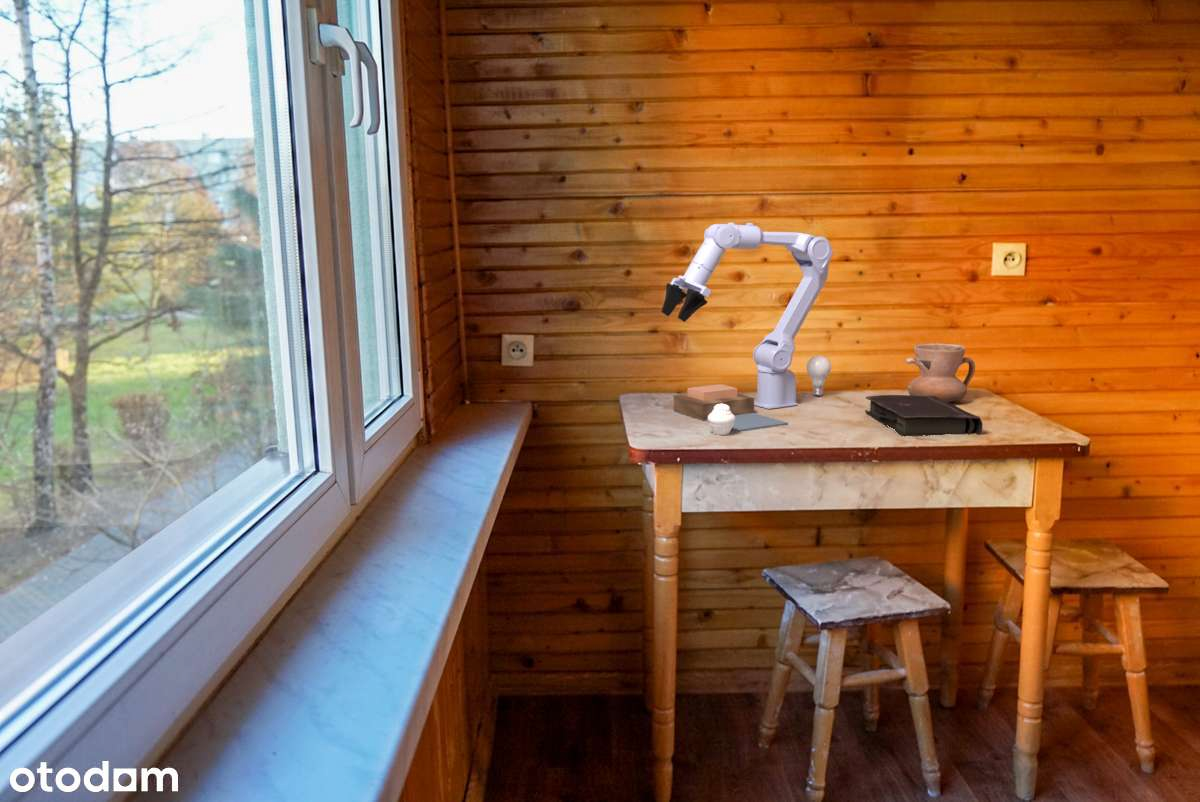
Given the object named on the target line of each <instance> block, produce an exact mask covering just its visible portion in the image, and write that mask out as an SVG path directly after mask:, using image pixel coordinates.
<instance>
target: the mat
mask: <svg viewBox="0 0 1200 802" xmlns="http://www.w3.org/2000/svg"><path fill="white" fill-rule="evenodd" d="M734 416H735V422H734V425H733V427H732V429H733V431H735V430H736V431H735V432H744V431H753V430H760V428H761V429H765V428H766V427H767V428H773V427H772V426H774V427H780V426H779V425H781V426H786V424H788V425H789V422H786V421H783V420H780V419H775V418H773V417H769V416H766V415H762V414H758V413H756V412H754V413H749V414H741V415H734ZM705 421H706V422H708V423H709V421H708V419H706V420H705ZM732 429H731V430H732Z"/></svg>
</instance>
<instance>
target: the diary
mask: <svg viewBox="0 0 1200 802" xmlns="http://www.w3.org/2000/svg"><path fill="white" fill-rule="evenodd" d="M865 399H866V400H868V401H870V405H869V407H870V408H869V410H867V409H866V410H864V411H865V414H866V415H868V416H869V417H870V416H871V417H870V418H872V419H873V418H874V419H873V420H875V421H877V422H879V423H880V424H882V425H883V426H884V425H885V426H884V427H887V428H888V426H889V428H890V427H891V428H893V429H895V431H896V432H897V433H898V434H899V436H900V435H901V436H900V437H902V436H904V437H905V436H912V437H931V436H930V435H944V436H946V435H945V434H951V435H964V434H966V435H969V436H970V435H971V433H973V432H974V433H973V434H975V433H976V435H978V436H979V435H981V432H982V431H983V421H982V419H981V417H980V416H979V415H976V414H973V413H970V412H968V411H965V410H964V409H962V408H960V407H958V406H957V405H955V404H953V403H951V402H949V403H947V402H945V401H943V400H941V399H940V398H938V397H936V396H912V395H910V394H882V395H881V394H880V395H867V396H865ZM887 425H888V426H887ZM891 428H890V429H891ZM893 429H892V430H893ZM895 431H894V432H895ZM896 432H895V433H896ZM897 433H896V434H897ZM898 434H897V435H898ZM923 435H925V436H923ZM928 435H929V436H928Z"/></svg>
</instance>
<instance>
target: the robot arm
mask: <svg viewBox="0 0 1200 802" xmlns="http://www.w3.org/2000/svg"><path fill="white" fill-rule="evenodd" d="M703 238H704V239H703V242H702V244H701V246H700V247H699V248H698V250H697V252H696V254H695V256H694V257H693V259H692V261H691V262H690V264H689V266H688V267H687V269H686V270H685V273H684V275H678V277H673V278H672V280H671V281H670V283H669V282H668V283H666V288H665V289H666V292H665V298H664V301H663V305H662V309H661V313H662V314H664V315H665V316H666V317H670V315H671V314H672V312H674V310H675V308H676V307H677V306H678V304H679V303H681V302H682V300H684V301H683V305H682V306H681V308H680V311H679V312H678V314H677V315H678V316H677V318H678V319H679V320H680V321H682V322H683V323H685V322H687V321H688V320H689V318H690V317H692V315H693V314H695V312H696V311H697V310H699V309H700V308H702V307H704V306H705V305H707V303H708V300H706V298H708V297H709V296H710V295H711V292H712V290H711V289H710V288H708V287H707V286H706V285H707V283H708V282H709V279H710V278H711V276H712V274H713V273H714V272H715V269H716V268H717V266H718V264H719V263H720V261H721V259H722V258H723V256H724V254H725V252H726V251H727V250H729V249H733V250H734V249H735V250H736V249H739V250H756V249H758V248H759V247H760V246H761V245H767V246H770V245H771V246H781V247H783V246H784V248H785V249H786V250H787V251H788V252H790V254H791V256H792V258H793V259H794V261H795V262H796V264H797V265H798V267H799V269H800V270H801V274H802V276H803V277H802V279H801V281H800V282H799V285H798V286H797V288H796V289H795V292H794V293H793V295H792V297H791V299H790V300H789V302H788V304H787V307H786V308H785V310H784V312H783V313H782V314H781V317H780V319H779V321H778V323H777V324H776V326H775V328H774V330H772V331H771V332H770V333H768V334H767V335H765V337H764V338H763V340H762V341H761V342H760V343H758V344H757V345H756V346H755V347H754V349H753V352H752V353H753V354H752V357H753V361H754V363H755V364H756V365H757V378H756V379H757V381H756V382H757V383H756V384H757V385H756V387H757V388H756V389H757V390H756V399H757V400H754V406H757V407H760V408H764V409H767V410H768V409H769V410H770V409H771V410H772V409H777V408H786V407H791V406H792V407H793V406H794V407H795V406H798V405H799V403H798V402H796V399H797V398H796V397H797V396H796V395H797V378H796V376H795V373H794V372H793V371H792V370H791V369H788V368H790V366H791V365H792V361H793V354H794V352H795V351H796V346H795V345H796V344H795V342H794V341H795V338H796V337H797V334H798V332H799V331H800V329H801V327H802V326H803V324H804V321H805V320H806V317H808V314H809V313H810V311H811V309H812V307H813V306H814V303H815V302H816V301H817V298H818V296H819V294H821V293H820V292H821V291H822V289H823V287H825V284H826V282H827V280H828V274H829V267H830V266H829V265H830V261H831V258H832V257H833V255H834V252H833V248H832V246H831V242H830V241H829V239H828V238H826V237H824V236H815V235H813V234H808V233H802V232H795V231H794V232H793V231H789V232H788V231H762V229H760V227H759V226H758V225H754V223H753V222H746V223H745V224H735V223H734V222H728V223H715V224H712V225H710V226H709V227H708V228H706V229H705V231H704V235H703ZM685 291H686V292H685Z"/></svg>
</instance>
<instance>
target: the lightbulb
mask: <svg viewBox="0 0 1200 802" xmlns="http://www.w3.org/2000/svg"><path fill="white" fill-rule="evenodd" d="M831 370H832V364H831V362H830V360H829V358H828V357H826V356H825V355H822V354H821V355H820V354H819V355H814V356H812V357H810V358H809V360H807V364H806V372H807V374H808V375H809V377H810V379H811V383H812V389H813V390H812V394H813V396H815V397H821V396H823V394H824V385H825V384H826V380H827V377H829V375H830V373H831Z"/></svg>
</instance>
